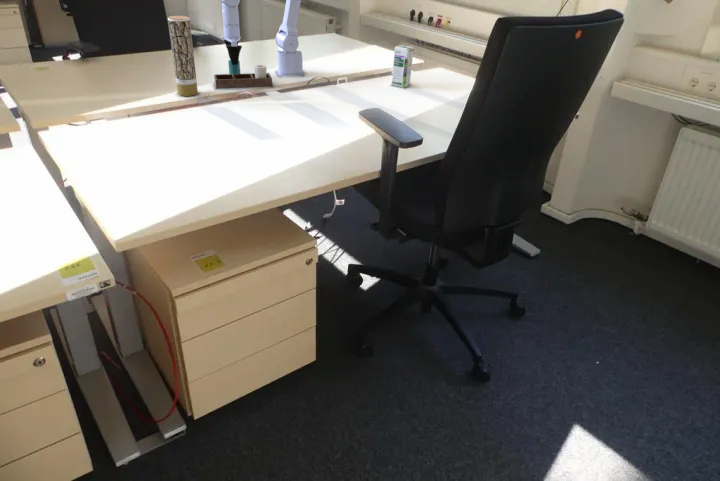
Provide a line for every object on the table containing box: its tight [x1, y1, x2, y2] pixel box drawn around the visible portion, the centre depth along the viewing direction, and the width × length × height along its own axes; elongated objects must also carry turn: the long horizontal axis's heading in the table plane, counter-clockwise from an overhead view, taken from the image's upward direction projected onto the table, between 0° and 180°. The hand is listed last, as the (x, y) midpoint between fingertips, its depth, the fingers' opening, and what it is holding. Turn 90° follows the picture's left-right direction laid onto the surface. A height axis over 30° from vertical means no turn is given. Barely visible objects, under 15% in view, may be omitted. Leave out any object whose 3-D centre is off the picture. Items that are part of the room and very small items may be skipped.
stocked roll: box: [254, 64, 267, 78], centre depth 198 cm, size 4×4×6 cm
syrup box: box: [390, 44, 414, 88], centre depth 206 cm, size 6×6×14 cm
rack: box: [213, 72, 273, 90], centre depth 198 cm, size 20×7×4 cm, turn 107°
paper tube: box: [167, 15, 199, 97], centre depth 181 cm, size 7×7×25 cm
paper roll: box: [227, 59, 241, 74], centre depth 204 cm, size 4×4×6 cm
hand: (233, 61), depth 203 cm, fingers open, 7 cm apart
